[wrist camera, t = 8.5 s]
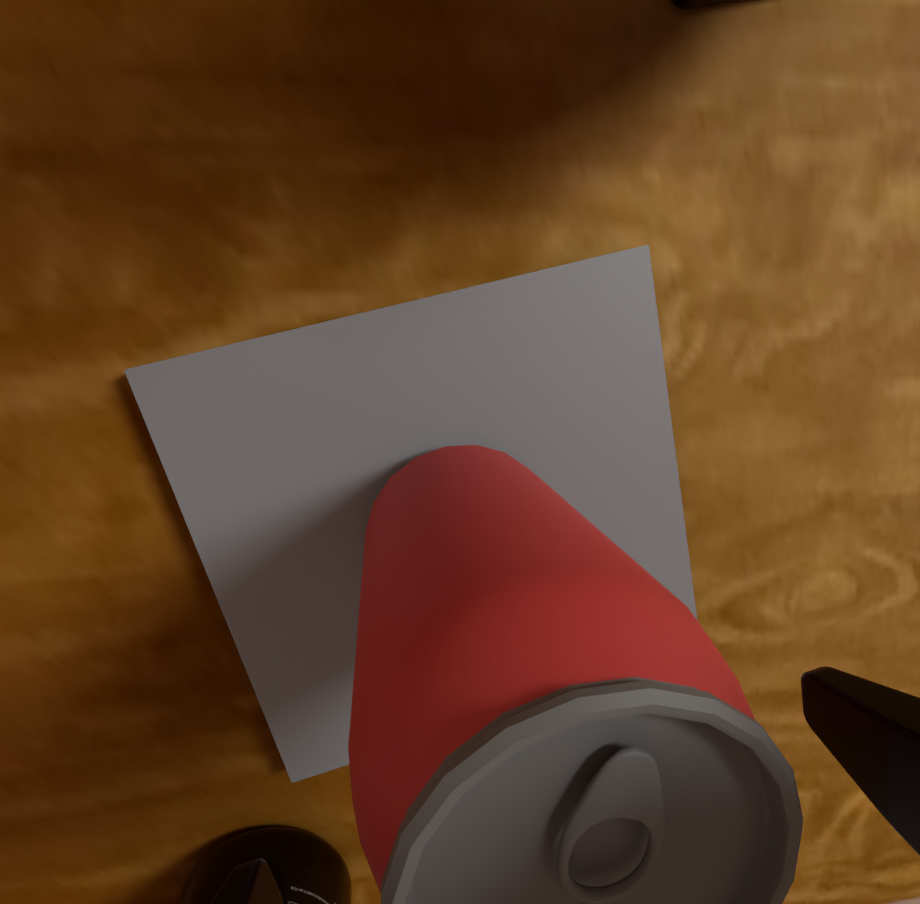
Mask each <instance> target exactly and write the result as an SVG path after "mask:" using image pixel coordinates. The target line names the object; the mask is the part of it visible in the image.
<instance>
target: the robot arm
mask: <svg viewBox="0 0 920 904" xmlns="http://www.w3.org/2000/svg"><path fill="white" fill-rule="evenodd" d="M724 1H730V0H673V2H674V3H675V5H676V6H678V7H680V8H682V9H688V8H693V7H698V6H704V5H709V4H714V3H719V2H724ZM801 688H802V701H803V712H804V716H805V719H806V721H807V723H808V724H809V726H810V727H811V729H812V730H813V731H814V733H815V734H816V735H817V736H818V737H819V739H820V740H821V741H822V742H823V744H824V745H825V746H826V747H827V748H828V750H829V751H830V752H831V753H832V755H833V756H834V757H835V758H836V759H837V761H838V762H839V763H840V764H841V766H842V767H843V768H844V769H845V770H846V772H847V773H848V774H849V775H850V776H851V778H852V779H853V780H854V781H855V783H856V784H857V785H858V786H859V787H860V789H861V790H862V791H863V792H864V794H865V795H866V796H867V797H868V798H869V800H870V801H871V802H872V803H873V804H874V806H875V807H876V808H877V809H878V810H879V812H880V813H881V814H882V815H883V816H884V817H885V819H886V820H887V821H888V822H889V823H890V824H891V825H892V826H893V827H894V829H895V830H896V831H897V832H898V833H899V834H900V835H901V836H902V837H903V838H904V839H905V840H906V841H907V843H908V844H909V845H910V846H911V847H912V848H913V849H914V850H915V851H916V852H917V853H918V854H919V855H920V698H918V697H916V696H913V695H910V694H907V693H904V692H901V691H898V690H895V689H892V688H889V687H886V686H884V685H881V684H878V683H875V682H872V681H869V680H866V679H863V678H860V677H857V676H855V675H852V674H849V673H846V672H843V671H840V670H837V669H834V668H831V667H820V668H817V669H814V670H811V671H808V672H805V673H804V674H803V675H802V677H801ZM210 904H283V900H282V896H281V893H280V891H279V889H278V886H277V884H276V882H275V880H274V877H273V875H272V873H271V871H270V868H269V866H268V864H267V862H266V861H265V860H264V859H262V858H258V859H255V860H252V861H249V862H246V863H243V864H240V865H238V866H236V867H235V868H234V869H233V870H232V871H231V873H230V874H229V875H228V877H227V878H226V880H225V882H224V883H223V885H222V886H221V888H220V889H219V891H218V892H217V894H216V895H215V897H214V898H213V900H212V901H211V903H210Z"/></svg>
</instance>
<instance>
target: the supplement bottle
mask: <svg viewBox="0 0 920 904" xmlns="http://www.w3.org/2000/svg"><path fill="white" fill-rule="evenodd" d="M258 858H262V859H264V860H265V861H266V862H267V864H268V866H269V868H270V871H271V873H272V875H273V877H274V880H275V882H276V884H277V886H278V889H279V891H280V893H281V896H282V900H283V904H351V880H350V875H349V872H348V869H347V866H346V864H345V862H344V860H343V859H342V857H341V856H340V854H339V853H338V852H337V851H336V849H335V848H334V847H333V846H332V845H330V844H329V843H328V842H327V841H325V840H324V839H322V838H320V837H318V836H317V835H315V834H312V833H310V832H307V831H304V830H300V829H295V828H289V827H266V828H259V829H254V830H250V831H247V832H244V833H241V834H238V835H236V836H233V837H231V838H229V839H227V840H225V841H224V842H222V843H220V844H219V845H217V846H216V847H215V848H213V849H212V850H211V851H209V852H208V853H207V854H206V855H205V856H204V857H203V858H202V859H201V860H200V861H199V862H198V863H197V864H196V866H195V867H194V868H193V870H192V871H191V873H190V874H189V876H188V878H187V879H186V882H185V884H184V886H183V888H182V890H181V893H180V895H179V898H178V901H177V903H176V904H210V903H211V901H212V900H213V898H214V897H215V895H216V894H217V892H218V891H219V889H220V888H221V886H222V885H223V883H224V882H225V880H226V878H227V877H228V875H229V874H230V873H231V871H232V870H233V869H234V868H235V867H236V866H238V865H240V864H243V863H246V862H249V861H252V860H255V859H258Z"/></svg>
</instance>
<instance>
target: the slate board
mask: <svg viewBox="0 0 920 904" xmlns="http://www.w3.org/2000/svg"><path fill="white" fill-rule="evenodd" d="M124 371H125V374H126V376H127V379H128V381H129V384H130V386H131V389H132V391H133V394H134V396H135V399H136V401H137V403H138V406H139V408H140V411H141V413H142V416H143V418H144V421H145V423H146V426H147V428H148V431H149V433H150V435H151V438H152V440H153V443H154V445H155V448H156V450H157V453H158V455H159V458H160V460H161V462H162V465H163V467H164V470H165V472H166V475H167V477H168V480H169V482H170V485H171V487H172V490H173V492H174V494H175V497H176V499H177V502H178V504H179V507H180V509H181V512H182V514H183V517H184V519H185V522H186V524H187V526H188V529H189V531H190V534H191V536H192V539H193V541H194V544H195V546H196V549H197V551H198V553H199V556H200V558H201V561H202V563H203V566H204V568H205V571H206V573H207V576H208V578H209V581H210V583H211V585H212V588H213V590H214V593H215V595H216V598H217V600H218V603H219V605H220V608H221V610H222V613H223V615H224V617H225V620H226V622H227V625H228V627H229V630H230V632H231V635H232V637H233V640H234V642H235V644H236V647H237V649H238V652H239V654H240V657H241V659H242V662H243V664H244V667H245V669H246V672H247V674H248V676H249V679H250V681H251V684H252V686H253V689H254V691H255V694H256V696H257V699H258V701H259V704H260V706H261V708H262V711H263V713H264V716H265V718H266V721H267V723H268V726H269V728H270V731H271V733H272V735H273V738H274V740H275V743H276V745H277V748H278V750H279V753H280V755H281V758H282V760H283V763H284V765H285V767H286V770H287V772H288V775H289V777H290V780H291V782H292V783H293V782H296V781H300V780H303V779H306V778H309V777H312V776H315V775H318V774H321V773H324V772H327V771H330V770H333V769H336V768H340V767H343V766H346V765H349V752H348V744H349V731H350V719H351V706H352V693H353V681H354V668H355V656H356V643H357V631H358V618H359V606H360V593H361V580H362V568H363V555H364V543H365V531H366V527H367V524H368V520H369V517H370V513H371V509H372V506H373V502H374V501H375V499H376V498H377V496H378V495H379V493H380V492H381V491H382V489H383V488H384V486H385V485H386V483H387V482H388V480H389V479H390V477H391V476H393V475H394V474H395V473H396V472H398V471H399V470H400V469H401V468H403V467H404V466H405V465H407V464H408V463H409V462H410V461H412V460H413V459H414V458H415V457H418V456H421V455H423V454H426V453H429V452H431V451H434V450H437V449H439V448H442V447H445V446H461V445H479V446H483V447H487V448H490V449H494V450H498V451H501V452H505V453H507V454H508V455H510V456H511V457H513V458H514V459H515V460H517V461H518V462H520V463H521V464H523V465H524V466H526V467H527V468H529V469H530V470H531V471H532V472H533V473H535V474H536V475H537V476H538V477H539V478H540V479H542V480H543V481H544V482H545V483H546V484H547V485H548V486H550V487H551V488H552V489H553V490H554V491H555V492H556V493H558V494H559V495H560V496H561V497H562V498H563V499H564V500H566V501H567V502H568V503H569V504H570V505H571V506H572V507H574V508H575V509H576V510H577V511H578V512H579V513H580V514H582V515H583V516H584V517H585V518H586V519H587V520H588V521H590V522H591V523H592V524H593V525H594V526H595V527H597V528H598V529H599V530H600V531H601V532H602V533H603V534H605V535H606V536H607V537H608V538H609V539H610V540H611V541H613V542H614V543H615V544H616V545H617V546H618V547H619V548H621V549H622V550H623V551H624V552H625V553H626V554H627V555H629V556H630V557H631V558H632V559H633V560H634V561H635V562H637V563H638V564H639V565H640V566H641V567H642V568H643V569H645V570H646V571H647V572H648V573H649V574H650V575H652V576H653V577H654V578H655V579H656V580H657V581H658V582H660V583H661V584H662V585H663V586H664V587H665V588H666V589H668V590H669V591H670V592H671V593H672V594H673V595H674V596H676V597H677V598H678V599H679V600H680V601H681V602H682V603H684V604H685V605H686V606H687V607H688V608H689V610H690V611H691V612H692V614H693V615H694V617H695V618H696V620H697V614H696V607H695V599H694V591H693V583H692V576H691V568H690V560H689V553H688V545H687V537H686V529H685V522H684V514H683V506H682V499H681V491H680V483H679V475H678V468H677V460H676V452H675V444H674V437H673V429H672V421H671V414H670V406H669V398H668V390H667V383H666V375H665V367H664V360H663V352H662V344H661V336H660V329H659V321H658V313H657V306H656V298H655V290H654V282H653V275H652V267H651V259H650V251H649V245H645V246H640V247H636V248H632V249H628V250H624V251H619V252H615V253H611V254H607V255H603V256H598V257H594V258H590V259H586V260H582V261H578V262H573V263H569V264H565V265H561V266H557V267H552V268H548V269H544V270H540V271H536V272H531V273H527V274H523V275H519V276H515V277H511V278H506V279H502V280H498V281H494V282H490V283H485V284H481V285H477V286H473V287H469V288H464V289H460V290H456V291H452V292H448V293H444V294H439V295H435V296H431V297H427V298H423V299H418V300H414V301H410V302H406V303H402V304H397V305H393V306H389V307H385V308H381V309H377V310H372V311H368V312H364V313H360V314H356V315H351V316H347V317H343V318H339V319H335V320H330V321H326V322H322V323H318V324H314V325H310V326H305V327H301V328H297V329H293V330H289V331H284V332H280V333H276V334H272V335H268V336H263V337H259V338H255V339H251V340H247V341H243V342H238V343H234V344H230V345H226V346H222V347H217V348H213V349H209V350H205V351H201V352H197V353H192V354H188V355H184V356H180V357H176V358H171V359H167V360H163V361H159V362H155V363H150V364H146V365H142V366H138V367H134V368H130V369H125V370H124Z"/></svg>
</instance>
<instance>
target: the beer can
mask: <svg viewBox="0 0 920 904" xmlns="http://www.w3.org/2000/svg"><path fill="white" fill-rule="evenodd" d="M348 752H349V764H350V776H351V788H352V799H353V806H354V811H355V817H356V822H357V827H358V832H359V837H360V842H361V845H362V848H363V850H364V853H365V855H366V858H367V861H368V863H369V866H370V868H371V871H372V873H373V876H374V879H375V881H376V883H377V886H378V888H379V890H380V893H381V902H382V904H782V903H783V901H784V899H785V897H786V895H787V893H788V891H789V889H790V887H791V885H792V883H793V881H794V875H795V869H796V863H797V857H798V851H799V845H800V839H801V833H802V825H803V816H802V811H801V806H800V801H799V797H798V792H797V787H796V782H795V777H794V772H793V769H792V768H791V766H790V765H789V763H788V762H787V761H786V759H785V758H784V756H783V755H782V754H781V752H780V751H779V749H778V748H777V747H776V745H775V744H774V742H773V741H772V740H771V738H770V737H769V735H768V734H767V733H766V731H765V730H764V728H763V727H762V726H761V725H760V724H759V723H758V722H757V721H756V720H755V719H754V716H753V714H752V712H751V709H750V707H749V705H748V702H747V700H746V698H745V695H744V693H743V691H742V689H741V686H740V684H739V682H738V680H737V678H736V677H735V675H734V674H733V672H732V671H731V669H730V668H729V666H728V665H727V663H726V661H725V660H724V658H723V657H722V655H721V654H720V652H719V651H718V649H717V648H716V646H715V645H714V644H713V642H712V641H711V639H710V638H709V637H708V635H707V634H706V632H705V631H704V629H703V628H702V627H701V625H700V624H699V622H698V621H697V620H696V618H695V617H694V615H693V614H692V612H691V611H690V610H689V608H688V607H687V606H686V605H685V604H684V603H682V602H681V601H680V600H679V599H678V598H677V597H676V596H674V595H673V594H672V593H671V592H670V591H669V590H668V589H666V588H665V587H664V586H663V585H662V584H661V583H660V582H658V581H657V580H656V579H655V578H654V577H653V576H652V575H650V574H649V573H648V572H647V571H646V570H645V569H643V568H642V567H641V566H640V565H639V564H638V563H637V562H635V561H634V560H633V559H632V558H631V557H630V556H629V555H627V554H626V553H625V552H624V551H623V550H622V549H621V548H619V547H618V546H617V545H616V544H615V543H614V542H613V541H611V540H610V539H609V538H608V537H607V536H606V535H605V534H603V533H602V532H601V531H600V530H599V529H598V528H597V527H595V526H594V525H593V524H592V523H591V522H590V521H588V520H587V519H586V518H585V517H584V516H583V515H582V514H580V513H579V512H578V511H577V510H576V509H575V508H574V507H572V506H571V505H570V504H569V503H568V502H567V501H566V500H564V499H563V498H562V497H561V496H560V495H559V494H558V493H556V492H555V491H554V490H553V489H552V488H551V487H550V486H548V485H547V484H546V483H545V482H544V481H543V480H542V479H540V478H539V477H538V476H537V475H536V474H535V473H533V472H532V471H531V470H530V469H529V468H527V467H526V466H524V465H523V464H521V463H520V462H518V461H517V460H515V459H514V458H513V457H511V456H510V455H508V454H507V453H505V452H501V451H498V450H494V449H490V448H487V447H483V446H479V445H461V446H445V447H442V448H439V449H437V450H434V451H431V452H429V453H426V454H423V455H421V456H418V457H415V458H414V459H413V460H412V461H410V462H409V463H408V464H407V465H405V466H404V467H403V468H401V469H400V470H399V471H398V472H396V473H395V474H394V475H393V476H391V477H390V479H389V480H388V482H387V483H386V485H385V486H384V488H383V489H382V491H381V492H380V493H379V495H378V496H377V498H376V499H375V501H374V502H373V506H372V509H371V513H370V517H369V520H368V524H367V527H366V531H365V543H364V555H363V568H362V580H361V593H360V606H359V618H358V631H357V643H356V656H355V668H354V681H353V693H352V706H351V719H350V731H349V744H348Z"/></svg>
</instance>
